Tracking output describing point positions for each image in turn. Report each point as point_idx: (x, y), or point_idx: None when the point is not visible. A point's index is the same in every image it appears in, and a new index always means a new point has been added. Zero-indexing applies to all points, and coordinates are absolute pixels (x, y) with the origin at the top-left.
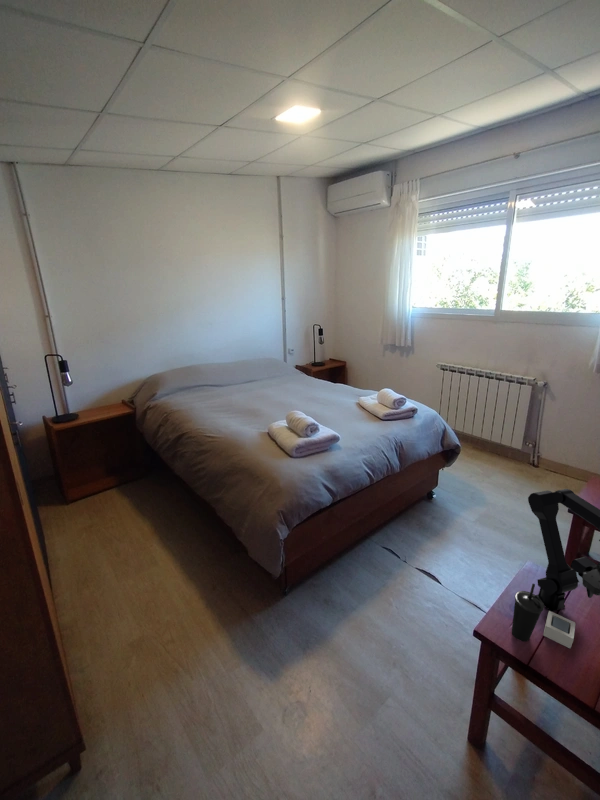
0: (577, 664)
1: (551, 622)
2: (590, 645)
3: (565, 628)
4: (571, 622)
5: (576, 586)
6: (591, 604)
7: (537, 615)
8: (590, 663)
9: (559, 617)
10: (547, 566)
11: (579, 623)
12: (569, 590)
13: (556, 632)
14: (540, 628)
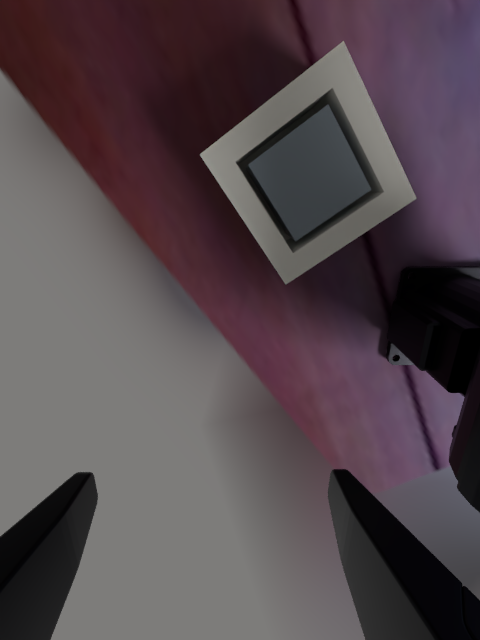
0: (123, 109)
1: None
2: (196, 286)
3: (277, 179)
4: (295, 261)
5: (467, 485)
6: None
7: None
8: (116, 190)
9: (350, 220)
10: None
11: (298, 344)
12: (468, 412)
13: (279, 93)
14: None
